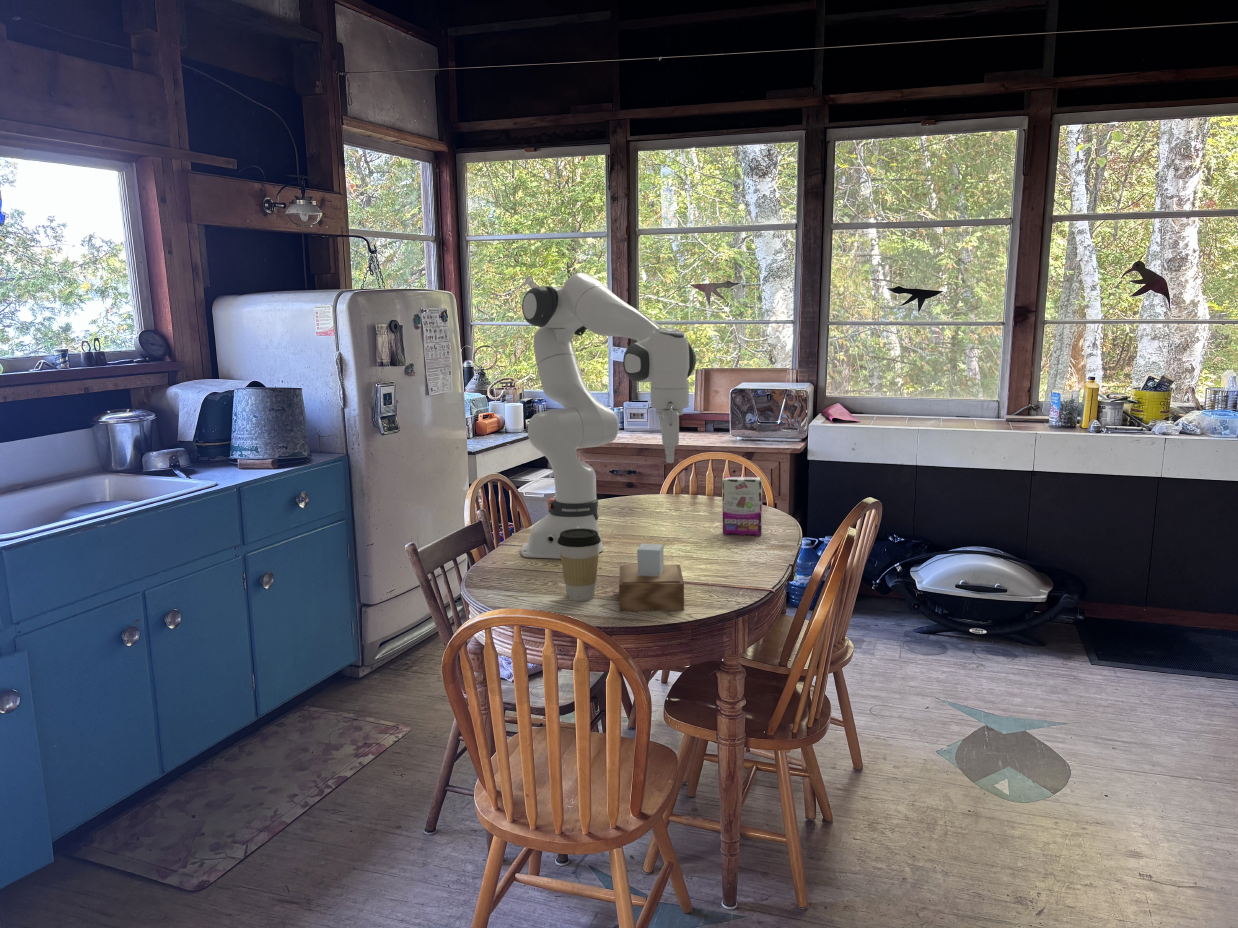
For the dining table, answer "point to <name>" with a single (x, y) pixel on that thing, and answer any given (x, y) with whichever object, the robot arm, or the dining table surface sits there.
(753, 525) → the candy bar box
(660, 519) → the dining table surface
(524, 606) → the dining table surface
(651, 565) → the painted block
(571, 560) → the coffee cup
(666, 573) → the block
